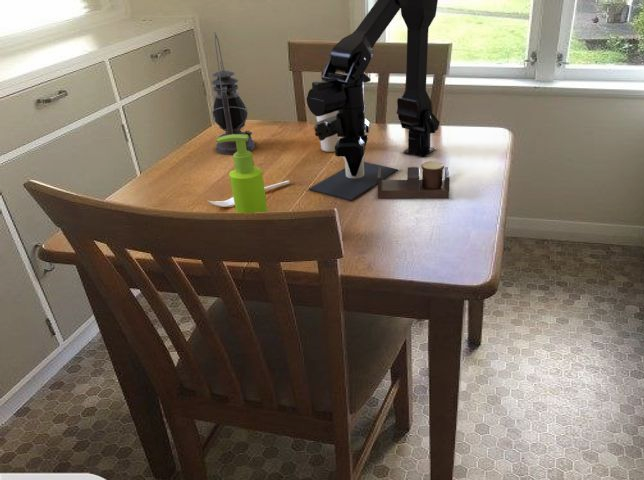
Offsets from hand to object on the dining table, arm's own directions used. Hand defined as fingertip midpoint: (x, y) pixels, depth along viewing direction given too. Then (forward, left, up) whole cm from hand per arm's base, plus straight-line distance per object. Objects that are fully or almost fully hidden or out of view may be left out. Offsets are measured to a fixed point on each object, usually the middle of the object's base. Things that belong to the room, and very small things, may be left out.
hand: (355, 171), depth 126 cm
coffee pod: (0, 0, -1) cm, 1 cm away
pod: (-3, +19, 0) cm, 19 cm away
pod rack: (0, +16, -2) cm, 16 cm away
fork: (+19, -15, -2) cm, 24 cm away
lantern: (-2, -42, -2) cm, 42 cm away
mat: (0, 0, -2) cm, 2 cm away
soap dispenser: (+32, -2, -2) cm, 32 cm away
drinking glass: (-14, -18, -2) cm, 23 cm away
